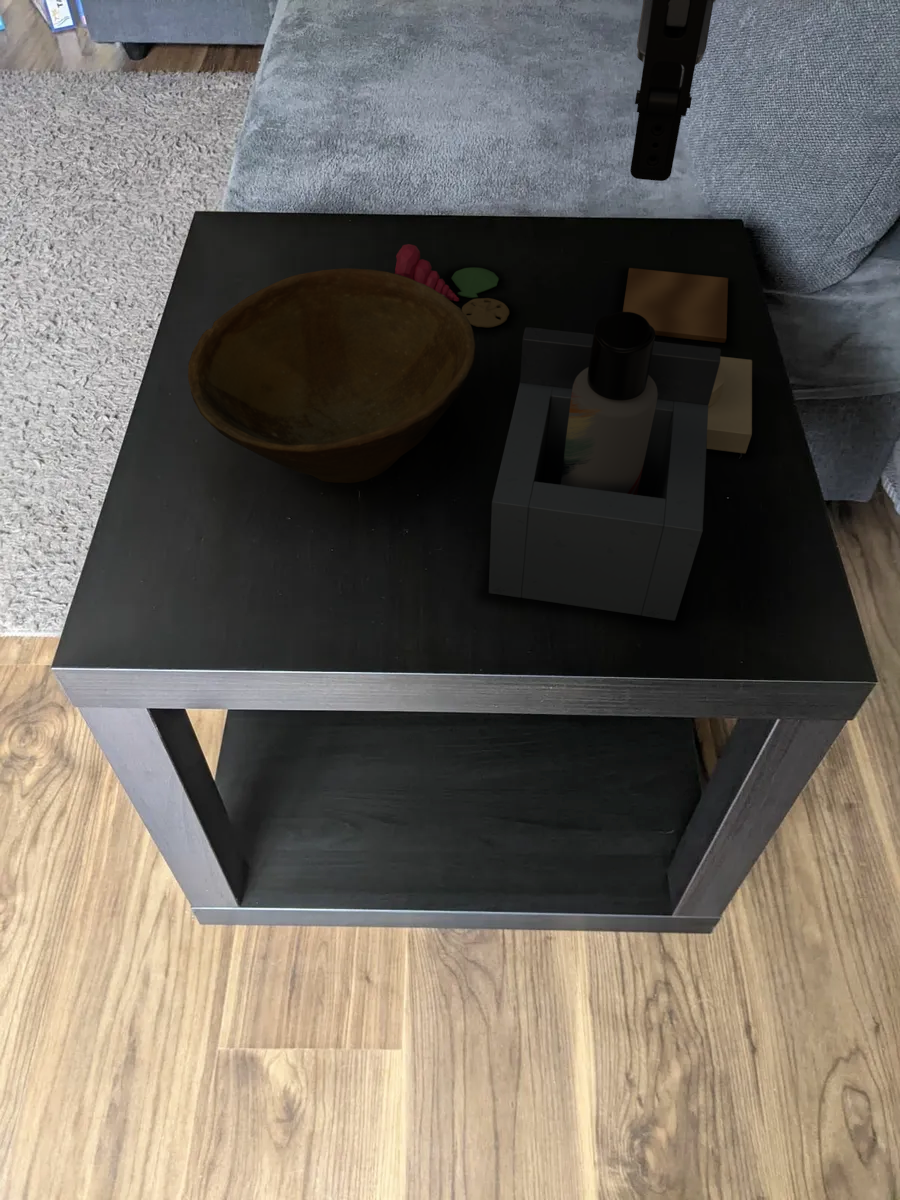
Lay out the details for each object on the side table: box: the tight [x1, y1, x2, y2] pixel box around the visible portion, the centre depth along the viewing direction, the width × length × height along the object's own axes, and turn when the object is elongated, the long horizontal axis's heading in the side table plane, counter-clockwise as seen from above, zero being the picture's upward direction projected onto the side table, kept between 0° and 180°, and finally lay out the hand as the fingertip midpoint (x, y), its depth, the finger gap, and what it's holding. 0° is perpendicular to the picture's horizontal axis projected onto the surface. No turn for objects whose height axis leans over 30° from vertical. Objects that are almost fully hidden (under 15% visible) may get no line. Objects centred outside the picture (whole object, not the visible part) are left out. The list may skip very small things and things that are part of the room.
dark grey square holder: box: [488, 326, 722, 622], centre depth 68 cm, size 14×14×14 cm
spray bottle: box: [561, 311, 657, 495], centre depth 66 cm, size 6×6×20 cm
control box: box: [706, 355, 753, 454], centre depth 82 cm, size 12×10×4 cm
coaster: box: [622, 267, 729, 344], centre depth 92 cm, size 10×10×1 cm
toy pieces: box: [394, 243, 510, 329], centre depth 92 cm, size 12×11×4 cm
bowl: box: [187, 267, 477, 484], centre depth 77 cm, size 22×23×10 cm
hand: (654, 139), depth 54 cm, fingers open, 8 cm apart
